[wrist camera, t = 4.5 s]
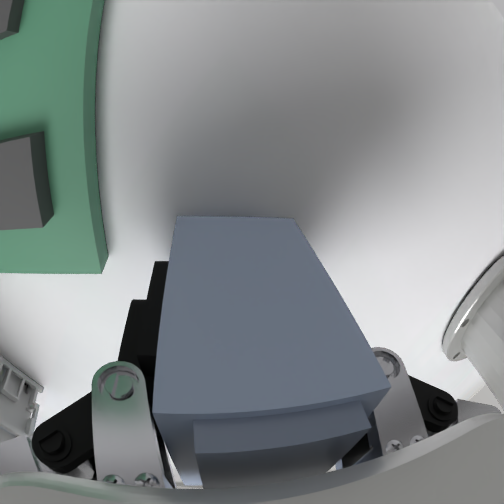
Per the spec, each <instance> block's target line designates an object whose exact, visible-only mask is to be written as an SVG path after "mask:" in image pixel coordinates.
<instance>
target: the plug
mask: <svg viewBox="0 0 504 504" xmlns="http://www.w3.org/2000/svg"><path fill="white" fill-rule="evenodd" d="M391 387H392V386H391V384H390V383H389V381H388V379H387V377H386V375H385V373H384V371H383V369H382V367H381V366H380V364H379V362H378V360H377V358H376V356H375V355H374V353H373V351H372V349H371V347H370V345H369V344H368V342H367V340H366V338H365V336H364V335H363V333H362V331H361V329H360V328H359V326H358V324H357V322H356V321H355V319H354V317H353V315H352V314H351V312H350V310H349V308H348V307H347V305H346V303H345V302H344V300H343V298H342V297H341V295H340V293H339V291H338V290H337V288H336V286H335V285H334V283H333V281H332V280H331V278H330V276H329V275H328V273H327V272H326V270H325V268H324V267H323V265H322V263H321V262H320V260H319V259H318V257H317V255H316V254H315V252H314V250H313V249H312V247H311V246H310V244H309V243H308V241H307V239H306V238H305V236H304V235H303V233H302V231H301V230H300V228H299V227H298V225H297V224H296V222H295V221H294V219H293V218H271V217H230V216H177V219H176V224H175V230H174V235H173V241H172V246H171V252H170V258H169V264H168V270H167V276H166V283H165V290H164V297H163V304H162V312H161V320H160V328H159V337H158V346H157V356H156V367H155V379H154V392H153V408H152V413H153V416H154V419H155V421H156V424H157V426H158V429H159V431H160V433H161V436H162V438H163V440H164V443H165V445H166V447H167V450H168V452H169V454H170V456H171V458H172V461H173V463H174V465H175V467H176V469H177V471H178V473H179V475H180V477H181V479H182V481H183V483H184V485H203V489H214V488H232V487H244V486H254V485H263V484H270V483H277V482H283V481H289V480H295V479H300V478H305V477H310V476H315V475H319V474H323V473H326V472H327V471H328V470H329V469H331V468H332V467H333V466H334V465H335V464H336V463H337V462H338V461H339V460H340V459H341V458H342V457H343V456H344V455H345V454H346V453H347V452H348V451H350V450H351V449H352V448H353V447H354V446H355V444H356V443H357V442H358V441H359V440H360V439H361V438H362V437H363V436H364V435H365V434H366V433H367V432H368V431H369V430H370V429H371V428H372V427H371V425H370V422H369V420H368V417H369V415H370V414H371V413H372V412H373V411H374V409H375V408H376V407H377V406H378V404H379V403H380V402H381V400H382V399H383V398H384V396H385V395H386V394H387V392H388V391H389V390H390V388H391Z"/></svg>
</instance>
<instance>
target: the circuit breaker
mask: <svg viewBox="0 0 504 504" xmlns="http://www.w3.org/2000/svg"><path fill="white" fill-rule="evenodd" d="M25 382H26V383H27V384H29V385H28V386H26V385H24V383H25ZM43 390H44V388H43V387H42V386H40V385H39V384H37V383H36V382H35V381H33V380H32V379H30V378H29V377H28V376H26V375H25V374H24V373H22V372H21V371H20V370H18V369H17V368H16V367H14V366H13V365H12V364H11V363H9V362H8V361H7V360H6V359H4V358H3V357H2V356H1V355H0V442H4V441H7V440H10V439H13V438H16V437H19V436H22V435H27V436H28V437H30V436H32V435H33V433H34V428H35V423H36V419H37V414H38V410H39V405H38V404H37V403H35V401H36V397H37V394H38V392H40V393H42V392H43ZM31 413H33V414H32V418H30V417H31Z"/></svg>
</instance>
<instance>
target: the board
mask: <svg viewBox="0 0 504 504" xmlns="http://www.w3.org/2000/svg"><path fill="white" fill-rule="evenodd" d="M104 1H105V0H0V273H40V274H102V271H103V269H104V266H105V264H106V261H107V259H108V252H107V247H106V240H105V234H104V227H103V220H102V213H101V205H100V196H99V185H98V174H97V160H96V138H95V88H96V68H97V55H98V44H99V35H100V27H101V20H102V13H103V7H104Z"/></svg>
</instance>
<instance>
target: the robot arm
mask: <svg viewBox="0 0 504 504" xmlns="http://www.w3.org/2000/svg"><path fill="white" fill-rule="evenodd" d="M168 264H169V261H155V263H154V268H153V272H152V277H151V281H150V286H149V290H148V295H147V300H135V299H133V300H132V302H131V305H130V309H129V313H128V317H127V321H126V325H125V329H124V334H123V338H122V343H121V347H120V352H119V357H118V361H115V362H111V363H108V364H106V365H104V366H102V367H101V368H100V369H99V370H98V371H97V372H96V373H95V375H94V377H93V381H92V391H91V392H90V393H88V394H87V395H85V396H84V397H82V398H81V399H79V400H78V401H76V402H75V403H73V404H71V405H70V406H68V407H67V408H65V409H64V410H62V411H61V412H59V413H57V414H56V415H54V416H53V417H51V418H50V419H48V420H46V421H45V422H43V423H42V424H40V425H39V426H38V427H37V428H36V430H35V431H34V433H33V435H32V436H30V437H28V436H27V435H22V436H19V437H16V438H13V439H10V440H7V441H4V442H0V504H504V414H501V412H500V410H498V408H496V407H494V406H492V405H487V404H481V403H475V402H470V401H465V400H460V399H457V400H456V401H455V400H454V398H453V397H452V396H451V395H450V394H448V393H447V392H445V391H443V390H441V389H438V388H436V387H434V386H431V385H429V384H427V383H425V382H422V381H420V380H418V379H416V378H414V377H411V376H409V375H408V374H407V371H406V368H405V366H404V363H403V361H402V360H401V358H400V357H399V356H398V355H397V354H396V353H394V352H393V351H391V350H389V349H386V348H382V347H374V348H371V349H372V351H373V353H374V355H375V356H376V358H377V360H378V362H379V364H380V366H381V367H382V369H383V371H384V373H385V375H386V377H387V379H388V381H389V383H390V384H391V386H392V387H391V388H390V390H389V391H388V392H387V394H386V395H385V396H384V398H383V399H382V400H381V402H380V403H379V404H378V406H377V407H376V408H375V409H374V411H373V412H372V413H371V414H370V415H369V417H368V420H369V422H370V425H371V427H372V428H371V429H370V430H369V431H368V432H367V433H366V434H365V435H364V436H363V437H362V438H361V439H360V440H359V441H358V442H357V443H356V444H355V446H354V447H353V448H352V449H351V450H350V451H348V452H347V453H346V454H345V455H344V456H343V457H342V458H341V459H340V460H339V461H338V462H337V463H336V470H335V471H331V472H327V473H323V474H319V475H315V476H310V477H305V478H300V479H295V480H289V481H283V482H277V483H270V484H263V485H254V486H244V487H232V488H214V489H177V486H176V483H175V479H174V475H173V471H172V467H171V463H170V459H169V455H168V451H167V447H166V445H165V443H164V440H163V438H162V436H161V433H160V431H159V429H158V426H157V424H156V421H155V419H154V416H153V413H152V408H153V392H154V379H155V367H156V356H157V346H158V337H159V328H160V320H161V312H162V304H163V297H164V290H165V283H166V276H167V270H168ZM442 348H443V352H444V354H445V355H446V357H447V358H448V359H449V360H450V361H459V360H463V359H465V358H467V357H468V359H469V360H470V361H471V363H472V364H473V366H474V367H475V368H476V370H477V371H478V373H479V374H480V375H481V377H482V378H483V380H484V381H485V383H486V384H487V386H488V387H489V389H490V390H491V392H492V393H493V394H494V396H495V398H496V399H497V401H498V402H499V404H500V405H501V407H502V409H503V410H504V255H503V256H502V257H501V258H500V259H499V260H498V261H497V262H495V263H494V264H493V265H492V267H491V268H490V269H489V270H488V271H487V272H486V273H485V274H484V275H483V276H482V278H481V279H480V280H479V281H478V282H477V284H476V285H475V286H474V288H473V289H472V290H471V292H470V293H469V294H468V295H467V297H466V298H465V300H464V301H463V303H462V304H461V306H460V307H459V309H458V310H457V312H456V314H455V315H454V317H453V319H452V321H451V323H450V325H449V327H448V329H447V331H446V334H445V336H444V340H443V345H442Z"/></svg>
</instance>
